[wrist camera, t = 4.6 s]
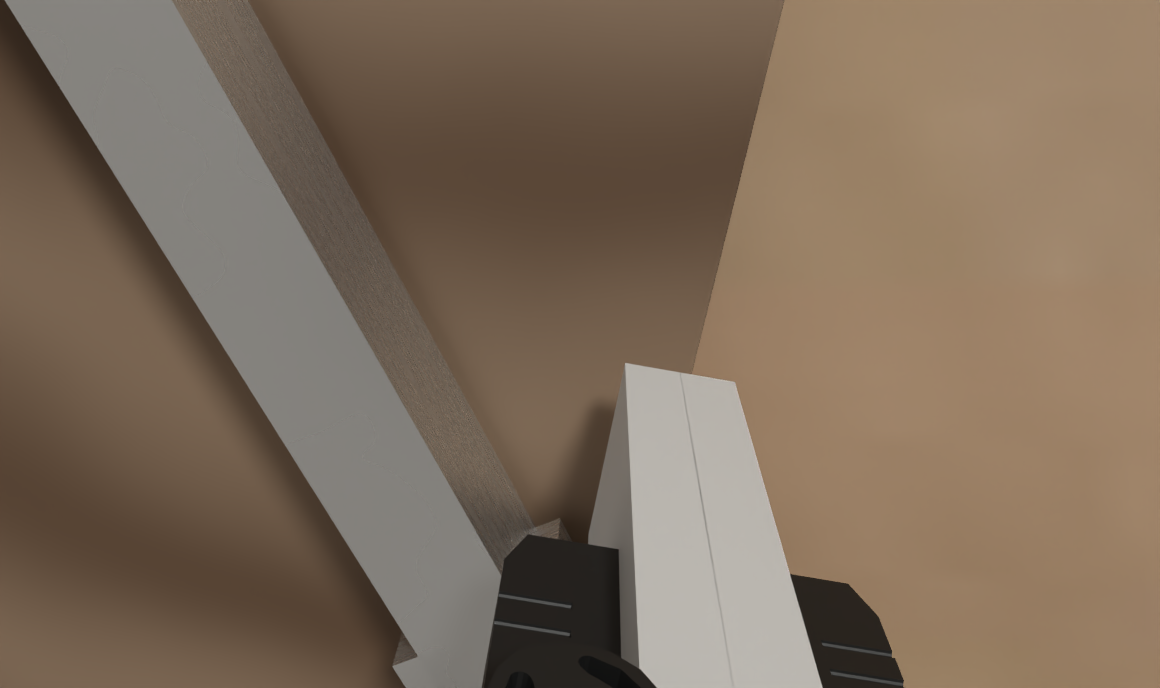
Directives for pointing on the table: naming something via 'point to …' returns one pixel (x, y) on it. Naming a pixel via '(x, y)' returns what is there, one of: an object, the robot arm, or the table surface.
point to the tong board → (431, 277)
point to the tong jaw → (299, 303)
